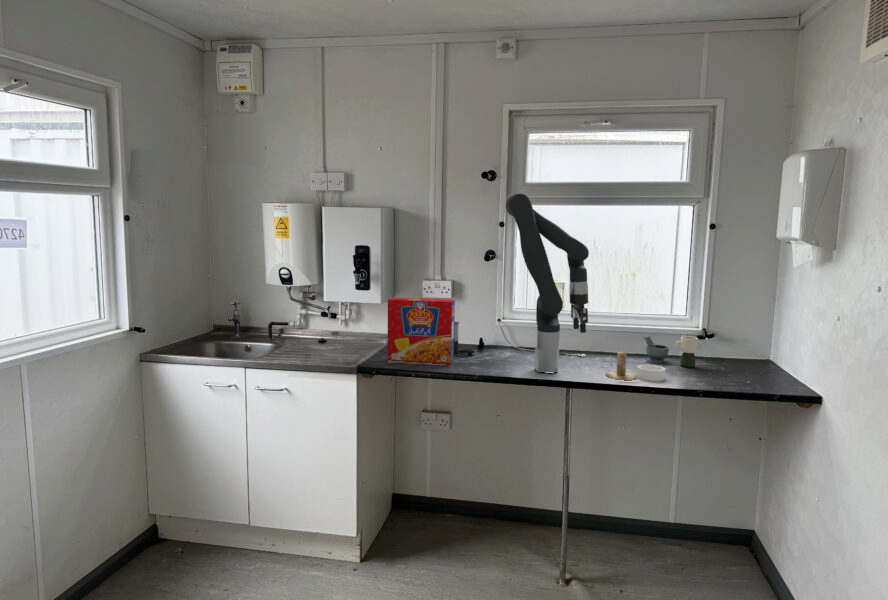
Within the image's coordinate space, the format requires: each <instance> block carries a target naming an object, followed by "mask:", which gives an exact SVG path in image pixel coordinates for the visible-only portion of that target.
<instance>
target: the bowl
mask: <svg viewBox="0 0 888 600" xmlns="http://www.w3.org/2000/svg"><path fill="white" fill-rule="evenodd" d="M636 376H637V378H638V379H639V380H643V381H648V380H649V381H650V382H663V381H664V380H665V379H666V368H665V367H663V366H661V365H655V364H639V365H637V366H636Z"/></svg>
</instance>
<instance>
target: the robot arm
mask: <svg viewBox="0 0 888 600" xmlns="http://www.w3.org/2000/svg"><path fill="white" fill-rule="evenodd" d="M505 209H506V212H507V213H508V214H509V215H510V216H511V217H513V218H514V220H515V223H516V227H517V229H518V232H519V239H520V240H519V241H520V249H521V254H522V257H523V260H524V264H525V265H526V268H527V270H528V273H529V274H530V276H531V277H532V279H533V281H534V283H535V286H536V287H537V291H538V294H539V295H538V296H537V300H536V305H535V308H536V310H535V312H536V313H535V314H536V316H535V317H536V320H535V321H536V327H537V328H536V331H537V332H536V346H535V349H534V370H535V369H536V370H537V371H538V372H557V371H558V372H559V362H560V359H559V358H560V357H559V356H560V337H561V335H560V334H561V332H560V331H561V326H560V325H561V324H560V322H559V321H560V320H559V315H560V313H561V312H562V310H563V307H564V302H563V299H562V297H561V294H560V292H559V290H558V287H557V285H556V283H555V280H554V276H553V272H552V268H551V266H550V261H549V258H548V257H549V256H548V255H547V251H546V246H545V244H544V242H543V240H542V237H543V238H544V239H546V240H547V241H548V242H549V243H551V245H554V246H555V247H556V248H558V249H559V250H562V251H564V252H565V253H566V258H567V264H568V269H569V288H568V289H569V291H568V292H569V295H568V296H569V304H570V318H571V320H572V322H573V323H572V325H573V329H574V330H579V332H580V333H581V334H584V333H586V332H587V330H586V326H587V323H589V313H588V312H589V311H588V307H585V305H586V304H589V285H588V272H587V271H588V269H587V268H586V266H585V263H584V262H585V260H587V259H588V257H589V255H590V251H589V249H588V247H587V245H585V244H584V243H583V242H582V241H580V240H578V239H577V238H575V237H573V236H571V235H570V234H569V233H568V232H567V231H565V230H564V229H563V228H562V227H560V225H558V224H556V223H554V222H553V221H552V220H549V219H548V218H546V217H545V216H543V215H541V214H540V213H539V212H538V211H537V210H535V209H534V208H533V203H532V201H531V199H530V197H529V196H528V195H527V194H525V193H515V194H513V195H511V196H509V197H508V198H507V200H506V202H505ZM541 236H542V237H541ZM536 370H535V371H536ZM537 371H536V372H537ZM538 372H537V373H538ZM558 372H557V373H558Z"/></svg>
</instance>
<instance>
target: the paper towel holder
mask: <svg viewBox="0 0 888 600" xmlns="http://www.w3.org/2000/svg"><path fill="white" fill-rule="evenodd" d="M627 355H628V354H627V352H626V351H618V352H617V356H616V357H617V358H616V363H617V364H616V371H607V372H605V373H606V374H605V376H606V377H608V378H611V379H615V380H624V381H632V380H636V379H637V378H638V377H637V374H636V375H635V374H634V373H631V372H626V371H627V370H626V369H627Z"/></svg>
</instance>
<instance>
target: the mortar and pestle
mask: <svg viewBox="0 0 888 600" xmlns="http://www.w3.org/2000/svg"><path fill="white" fill-rule="evenodd" d="M643 339H644V340H645V342H646V354H647V356H648V357H649V358H650V359H649V362H650V361H651V363H654V362H656V363H655V364H662V363H661V362H665V360H664V359H666V358H667V356H668V355H669V351H670V347H669V346H667V345H662V344H654V341H653V340H652V338H651V336H650V335H649V334H647V335H645V336H644V337H643Z"/></svg>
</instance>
